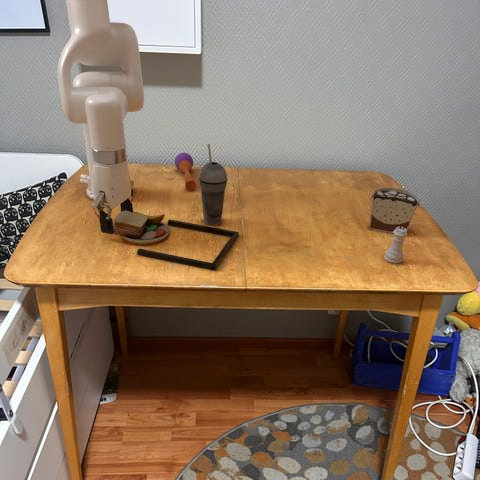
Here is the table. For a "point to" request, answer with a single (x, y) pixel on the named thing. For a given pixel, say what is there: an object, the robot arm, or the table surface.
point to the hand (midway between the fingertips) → (117, 224)
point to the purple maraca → (186, 169)
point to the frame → (193, 262)
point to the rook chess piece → (396, 246)
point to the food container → (392, 209)
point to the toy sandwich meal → (140, 227)
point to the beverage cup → (212, 190)
